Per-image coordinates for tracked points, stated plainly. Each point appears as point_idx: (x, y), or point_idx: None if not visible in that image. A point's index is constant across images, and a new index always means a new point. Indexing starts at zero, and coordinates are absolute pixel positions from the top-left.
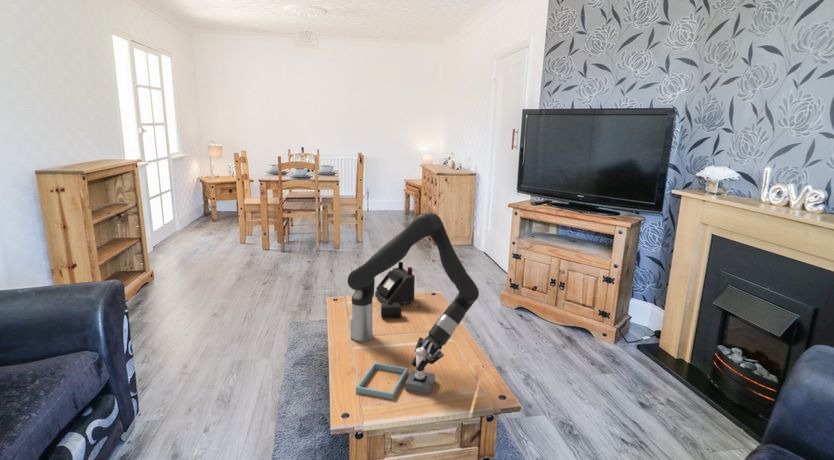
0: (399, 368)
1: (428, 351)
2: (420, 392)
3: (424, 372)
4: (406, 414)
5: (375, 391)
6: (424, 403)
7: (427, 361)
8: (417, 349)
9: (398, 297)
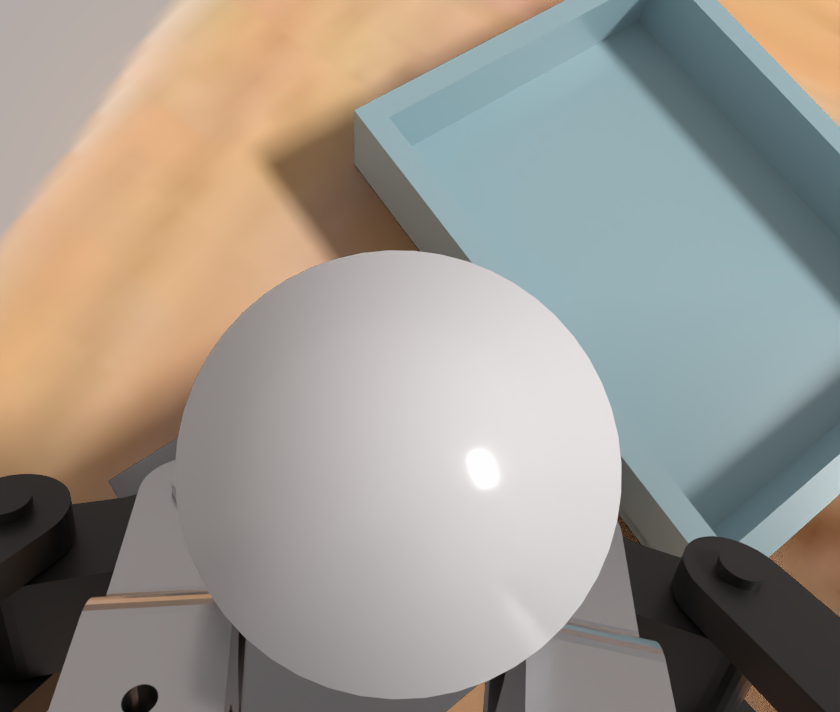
0: (780, 502)
1: (90, 704)
2: None
3: (455, 695)
4: (115, 142)
5: (508, 32)
6: (109, 380)
7: (76, 507)
8: (524, 376)
9: None
